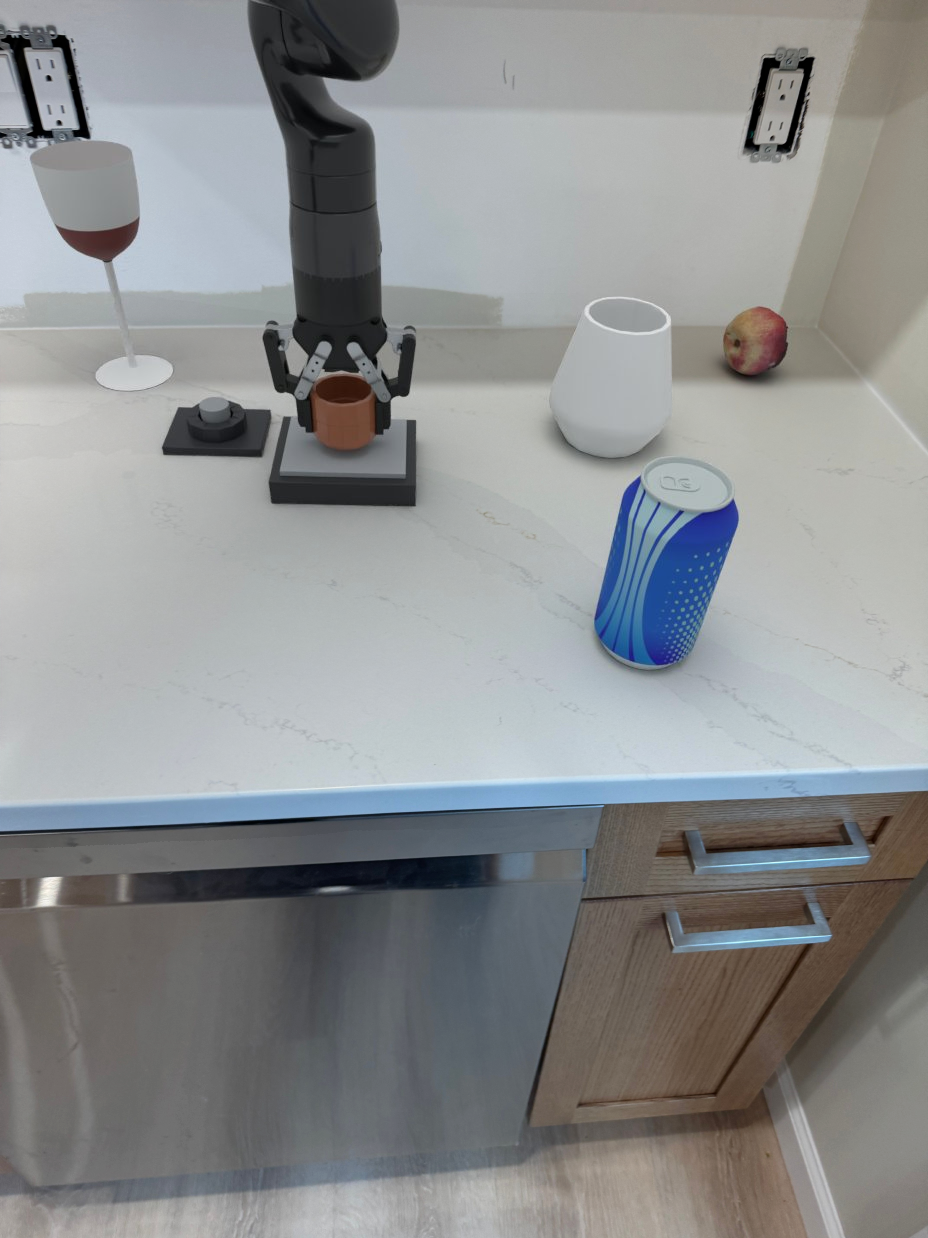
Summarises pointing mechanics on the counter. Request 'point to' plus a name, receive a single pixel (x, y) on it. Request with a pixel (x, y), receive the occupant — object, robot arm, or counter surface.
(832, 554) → the counter surface
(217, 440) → the block
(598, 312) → the cup
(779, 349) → the fruit
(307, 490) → the scale
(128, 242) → the wineglass
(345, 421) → the copper hollow cylinder
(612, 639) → the beer can
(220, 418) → the button
